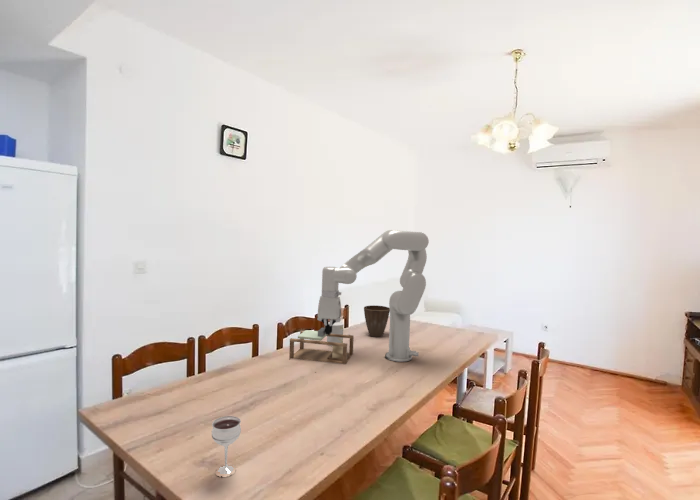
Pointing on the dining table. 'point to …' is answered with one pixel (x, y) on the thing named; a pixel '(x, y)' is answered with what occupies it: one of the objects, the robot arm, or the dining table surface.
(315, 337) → the lid
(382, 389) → the dining table surface
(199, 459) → the dining table surface
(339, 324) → the cup
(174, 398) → the dining table surface
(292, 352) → the wooden table frame
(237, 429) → the wineglass
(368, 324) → the plant pot
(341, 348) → the maple block
